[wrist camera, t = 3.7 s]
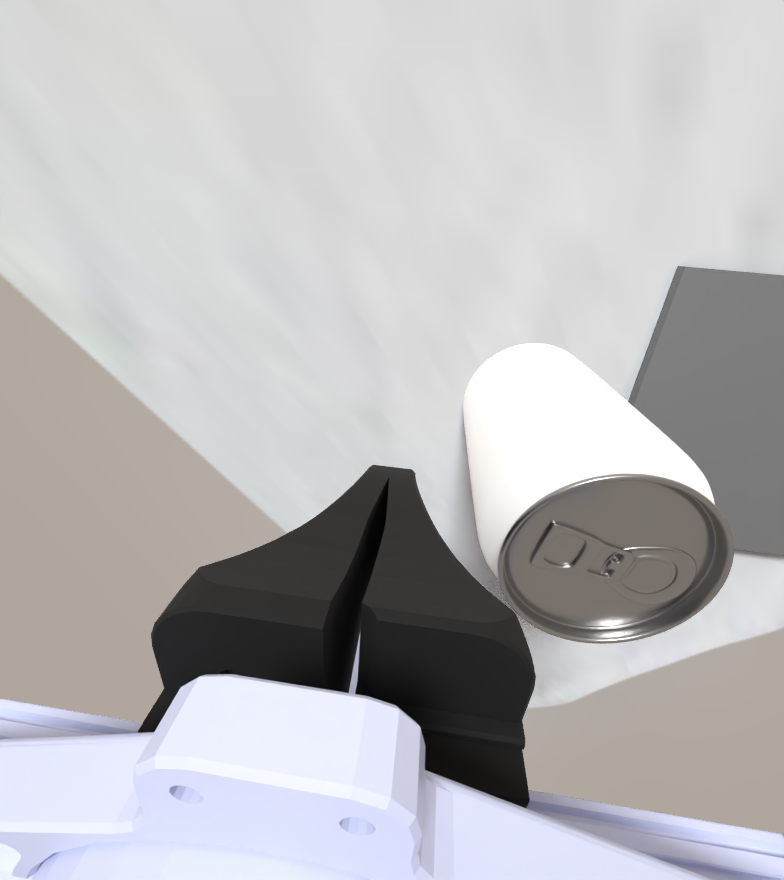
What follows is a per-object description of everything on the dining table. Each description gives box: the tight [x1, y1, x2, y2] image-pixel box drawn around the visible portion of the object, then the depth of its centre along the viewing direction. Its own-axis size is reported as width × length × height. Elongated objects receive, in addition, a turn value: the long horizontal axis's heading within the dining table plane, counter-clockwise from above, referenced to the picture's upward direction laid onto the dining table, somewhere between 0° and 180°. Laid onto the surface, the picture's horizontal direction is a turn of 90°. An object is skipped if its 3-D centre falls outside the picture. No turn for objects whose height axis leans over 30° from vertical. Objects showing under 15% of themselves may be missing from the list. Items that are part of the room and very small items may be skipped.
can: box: [463, 343, 734, 643], centre depth 16 cm, size 6×6×12 cm
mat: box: [628, 266, 784, 556], centre depth 20 cm, size 14×12×1 cm
